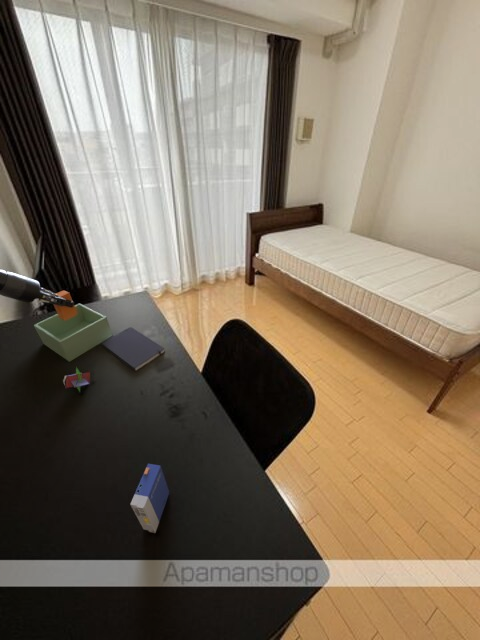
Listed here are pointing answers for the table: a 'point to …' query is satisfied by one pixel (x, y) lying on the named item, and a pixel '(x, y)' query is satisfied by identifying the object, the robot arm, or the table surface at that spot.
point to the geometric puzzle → (77, 379)
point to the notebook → (133, 348)
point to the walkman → (150, 498)
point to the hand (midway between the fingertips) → (69, 303)
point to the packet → (65, 307)
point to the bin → (74, 332)
